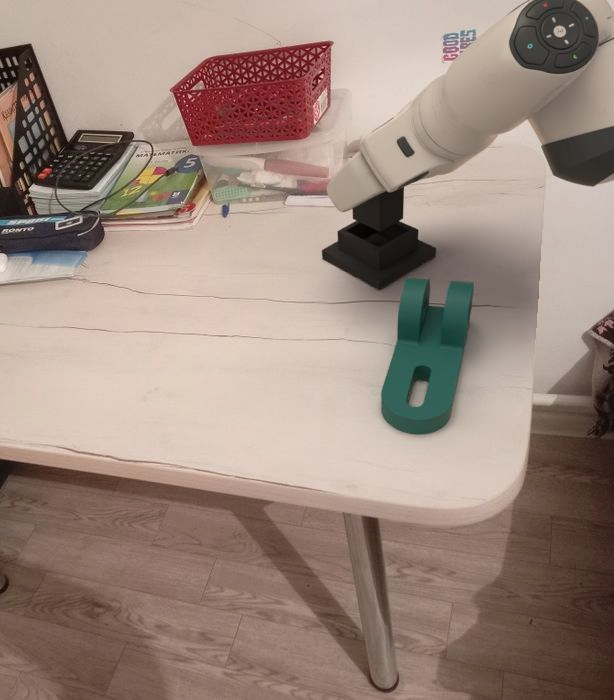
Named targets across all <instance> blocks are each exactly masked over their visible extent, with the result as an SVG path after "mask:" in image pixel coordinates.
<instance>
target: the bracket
mask: <svg viewBox="0 0 614 700" xmlns="http://www.w3.org/2000/svg"><path fill="white" fill-rule="evenodd" d="M474 289H475V282H472V281H458V280H451V281H449V284H448V288H447V292H446V293H447V294H446V297H445V302H444V303H445V304H444V306H436V305H435V306H434V305H430V299H431V297H430V296H431V280H430V278H420V277H406V278H405V280H404V283H403V286H402V291H401V295H400V300H399V306H398V312H397V313H398V315H397V336H396V343H395V347H394V348H393V349H394V350H393V353H392V356H391V359H390V363H389V366H388V369H387V372H386V376H385V379H384V382H383V384H382V388H381V393H380V396H381V398H380V403H381V404H380V410H381V415H382V418H383V419H384V420H385V421H386V423H387V424H389V425H390V426H391V427H392V428H394V429H396V430H398V431H400V432H402V433H406V434H411V435H426V434H432V433H434V432H437V431H439V430H440V429H442V428H444V426H446V425H447V423H448V422H449V420H450V418H451V415H452V410H453V406H454V405H453V404H454V401H455V395H456V391H457V386H458V382H459V381H458V380H459V378H460V372H461V368H462V363H463V358H464V352H465V349H466V344H467V339H468V335H469V334H468V333H469V330H470V324H471V317H472V308H473V299H474V292H475V291H474ZM417 381H425V382H427V387H426V391H425V395H424V399H423V402H422V404H421V405H419V406H413V405H410V404H409V402H410V399H411V395H412V392H413V387H414V384H415V383H416V382H417Z"/></svg>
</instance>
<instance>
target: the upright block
mask: <svg viewBox="0 0 614 700" xmlns="http://www.w3.org/2000/svg"><path fill="white" fill-rule="evenodd" d="M352 157H353V156H351V157H350V159H351V158H352ZM404 199H405V187H403V188H401V189H397V190H395V191H393V192H388V191H385V192H383V193H381V194H379V195H377V196H375V197H373V198H371V199H369V200H367V201H366V202H364V203H362V204H360V205H358V206H356V207H355V208H353V209H351V210H352V220H354V221H358V222H360V223H363V224H365V225H367V226H369V227H371V228H373V229H375V230H377V231H379V232H380V231H382V230H384V229H386V228H387V227H389V226H391V225H393V224H395V223H396V222H398V221H400V222H401V221H402V220H404V207H405V206H404V205H405V202H404V201H405V200H404Z"/></svg>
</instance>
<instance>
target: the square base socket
mask: <svg viewBox="0 0 614 700" xmlns="http://www.w3.org/2000/svg"><path fill="white" fill-rule="evenodd" d="M419 231H420V230H419V228H416V227H415V226H412V225H410V224H407V223H405V222H403V221H401V220H400V221H398V222H396V223H395V224H393V225H391V226H389V227H387V228H386V229H384V230H382V231H380V232H379V231H377V230H375V229H373V228H371V227H369V226H367V225H365V224H363V223H360V222H358V221H356V220H354V222H352V223H349V224H348V225H345V226H344V227H342V228H340V229H339V230H337V241H335V242H334V243H331V244H330V245H328V246H326V247H325V248H323V249H322V250H321V258H322V260H324V261H326V262H327V263H329V264H331V265H333V266H335V267H337V268H338V269H339V270H342V271H344V272H346V273H347V274H349V275H351V276H352V277H354V278H356V279H358V280H359V281H361V282H363V283H364V284H367V285H368V286H370V287H372V288H373V289H375V290H378V291H381V290H382V289H383V288H386V287H387V286H389V285H391V284H392V283H394V282H395V281H398V280H399V279H401V278H403V277H404V276H406V275H407V274H409V273H411V272H412V271H414V270H416V269H418V268H419V267H421V266H423V265H425V264H426V263H428V262H429V261H431V260H432V259H434V258H436V256H437V247H435V246H433V245H431V244H429V243H427V242H424V241H422V240H420V239H419Z"/></svg>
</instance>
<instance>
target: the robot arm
mask: <svg viewBox="0 0 614 700" xmlns="http://www.w3.org/2000/svg"><path fill="white" fill-rule="evenodd" d="M526 121H528V123H529V125H530V126H531V129H532V130H533V132H534V134H535V135H536V137H537V139H538V141H539V143H540V144H541V146H540V148H541V150H542V152H543V154H544V155H543V156H544V157H545V159H546V162H547V164H548V166H549V169H550V172H551V174H552V175H553V176H554V177H556V178H558V179H560V180H563V181H565V182H569V183H571V184H575V185H579V186H583V187H584V186H585V187H591V188H593V187H596V186H599V185H603V184H607V183H611V182H613V181H614V10H613V8H612V6H611V5H610V3H609V2H608V0H526V1H524V2H522V3H520V5H518V6H516V7H515V8H514V9H512V10H511V11H510V12H508V13H507V14H506V15H505V16H503V17H502V18H501V19H500V20H498V21H497V22H495V23H494V24H493V25H492V26H490V27H489V28H488V29H487V30H485V31H484V32H483V33H482V34H480V35H479V36H478V37H477V38H476V39H475V40H474V41H472V42H471V43H470V44H469V45H468V46H467V47H466V48H464V50H463V51H462V52H461V53H460V54H458V55H457V56H456V58H454V60H453V61H452V62H451V63H450V65H449V67H448V68H447V70H446V72H445V73H444V74H442V75H440V76H438V77H436V78H435V79H433V80H432V81H431V82H430V83H429V84H428V85H427V86H425V87H424V89H423V90H421V91H420V93H418V94H417V95H416V96H415V97H414V98H413V99H412V100H410V101H409V102H408V103H406V104H405V106H404V107H402V108H401V109H400V111H399V112H398V113H397V114H396V115H395V116H393V117H391V118H390V119H389V120H387V121H385V123H383V124H381V125H380V126H378V127H377V128H375V129H374V130H373V131H371V132H370V133H369V134H367V135H365V137H364V138H363V139H362V140H361V141H360V142H359V143H358V146H359V149H360V150H359V151H357V152H356V153H355V154H354V155H352V156H351V157H352V158H351V157H350V158H349V159H348V161H346V162H345V163H344V165H343V166H342V167H340V169H339V170H338V172H336V173H335V175H334V176H333V177H332V178H331V179H330V181H329V182H328V184H327V185H326V194H327V195H328V198H329V199H330V202H331V203H332V204H333V206H334V207H335V208H336V210H337V211H338V212H340V213H346V212H348V211H351V210H352V209H353V208H355V207H356V206H358V205H360V204H362V203H364V202H366V201H367V200H369V199H371V198H373V197H375V196H377V195H379V194H381V193H383V192H385V191H388V192H393V191H395V190H397V189H401V188H403V187H404V188H405V187H407V186H409V185H412V184H414V183H416V182H419V181H422V180H425V179H426V180H427V179H430V178H434V177H437V176H442V175H447V174H450V173H453V172H454V171H455V172H456V171H457V170H458V169H459V168H461V167H462V166H464V165H465V164H467V163H468V162H469V161H471V160H472V159H473V158H474V157H477V156H478V155H479V154H480V153H483V151H485V150H486V149H487V148H489V147H490V146H491V145H492V144H493V143H494V142H495V141H496V139H497V138H498V136H499V135H502V134H506V133H508V132H510V131H512V130H514V129H516V128H518V127H519V126H520V125H522V124H523V123H525V122H526Z"/></svg>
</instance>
